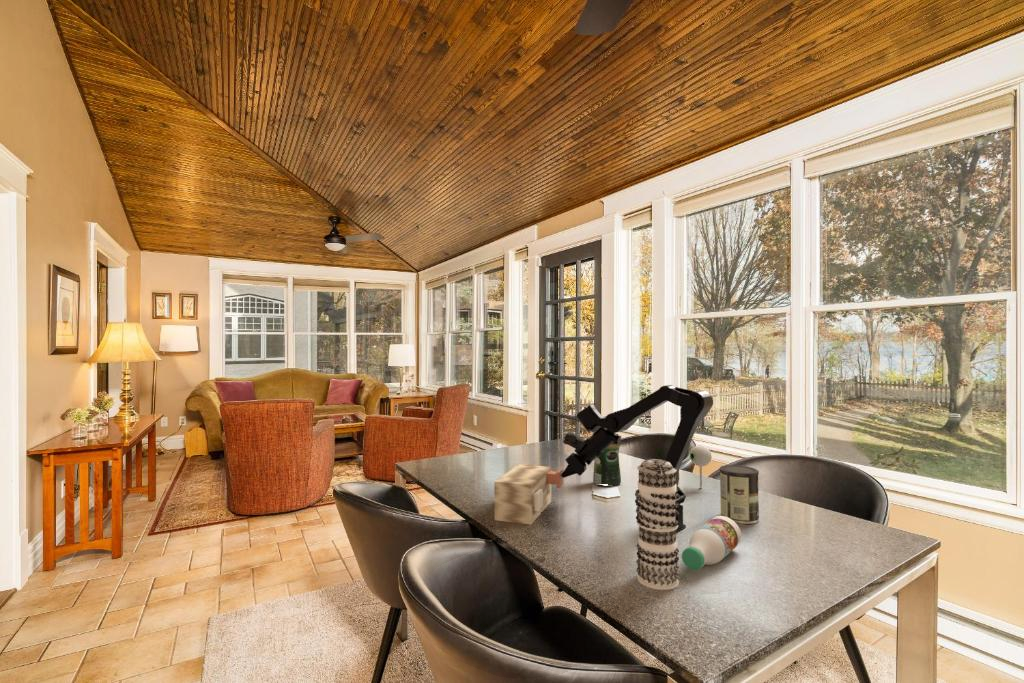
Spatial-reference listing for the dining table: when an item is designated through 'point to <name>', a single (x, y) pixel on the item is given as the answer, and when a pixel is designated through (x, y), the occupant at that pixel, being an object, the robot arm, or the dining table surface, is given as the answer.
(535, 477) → the socket block
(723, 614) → the dining table surface
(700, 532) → the milk bottle
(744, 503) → the coffee can
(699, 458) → the lollipop
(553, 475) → the terracotta plug
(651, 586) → the decorative candle
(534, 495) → the cream plug
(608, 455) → the coffee jar
